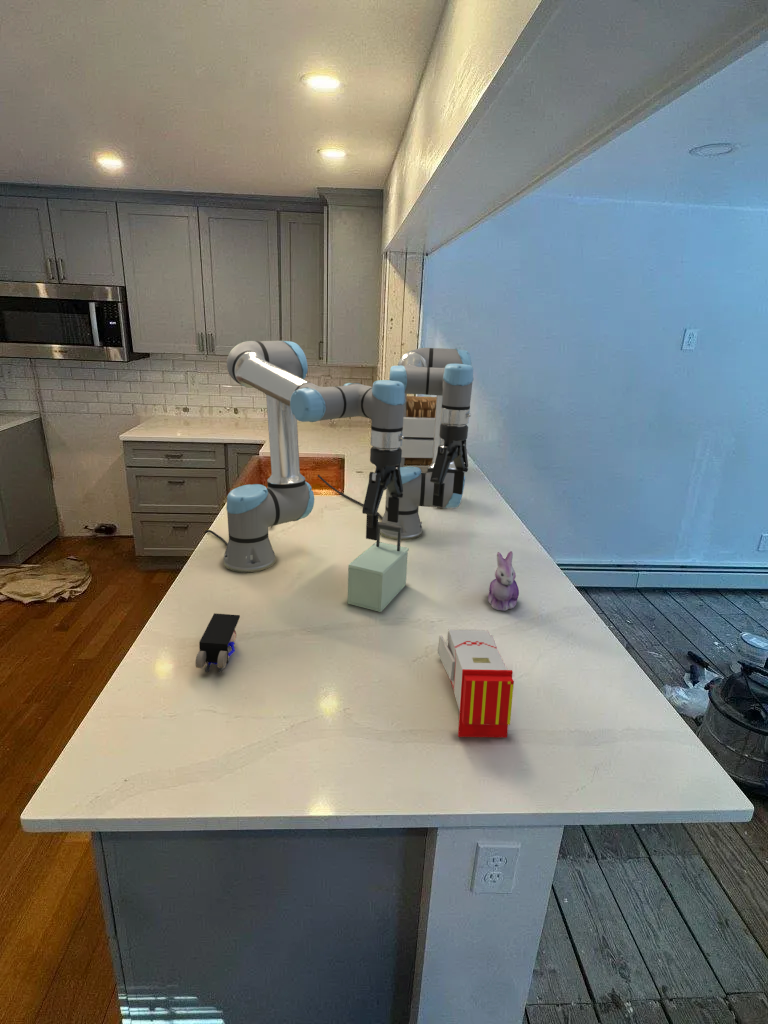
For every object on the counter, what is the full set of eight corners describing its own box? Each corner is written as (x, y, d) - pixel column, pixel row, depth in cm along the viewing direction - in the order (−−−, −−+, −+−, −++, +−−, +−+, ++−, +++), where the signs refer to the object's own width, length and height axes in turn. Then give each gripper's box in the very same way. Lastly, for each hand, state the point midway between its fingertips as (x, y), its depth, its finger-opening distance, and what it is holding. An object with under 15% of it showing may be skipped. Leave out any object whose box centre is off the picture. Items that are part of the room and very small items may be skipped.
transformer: (382, 463, 289) (386, 382, 275) (445, 464, 293) (451, 384, 279) (390, 482, 257) (394, 392, 243) (460, 483, 261) (468, 394, 247)
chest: (374, 577, 167) (376, 544, 163) (405, 585, 163) (407, 551, 160) (347, 603, 152) (348, 567, 148) (380, 612, 148) (382, 575, 144)
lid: (377, 543, 164) (378, 517, 161) (408, 550, 160) (410, 523, 157) (348, 567, 148) (349, 538, 145) (382, 575, 144) (384, 545, 142)
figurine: (500, 615, 149) (507, 563, 144) (477, 598, 157) (483, 548, 152) (528, 608, 153) (536, 557, 148) (504, 591, 161) (510, 543, 156)
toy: (488, 613, 130) (523, 677, 101) (484, 667, 133) (517, 744, 104) (435, 612, 130) (455, 676, 101) (432, 666, 133) (451, 743, 103)
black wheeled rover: (228, 683, 120) (242, 637, 133) (225, 655, 116) (240, 611, 130) (196, 682, 119) (214, 637, 133) (192, 654, 116) (211, 610, 130)
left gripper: (380, 460, 123) (376, 550, 130) (418, 439, 145) (413, 517, 152) (349, 456, 126) (347, 544, 133) (391, 435, 147) (387, 512, 155)
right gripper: (448, 433, 139) (441, 514, 146) (484, 419, 159) (476, 491, 167) (420, 429, 142) (415, 508, 150) (459, 415, 163) (453, 486, 170)
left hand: (382, 530), depth 142 cm, fingers open, 13 cm apart
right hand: (447, 499), depth 158 cm, fingers open, 13 cm apart
